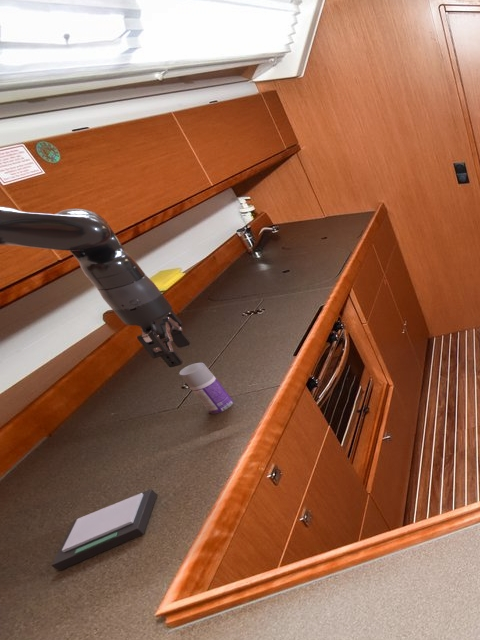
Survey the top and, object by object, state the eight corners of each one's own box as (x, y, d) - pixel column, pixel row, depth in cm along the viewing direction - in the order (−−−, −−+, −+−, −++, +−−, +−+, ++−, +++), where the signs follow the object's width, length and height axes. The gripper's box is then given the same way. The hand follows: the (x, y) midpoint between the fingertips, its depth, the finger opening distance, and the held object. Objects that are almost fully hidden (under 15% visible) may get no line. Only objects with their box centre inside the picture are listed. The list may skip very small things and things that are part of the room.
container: (236, 401, 109) (204, 359, 101) (237, 411, 106) (205, 368, 98) (212, 411, 106) (178, 368, 99) (213, 421, 103) (178, 378, 96)
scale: (59, 571, 74) (48, 564, 73) (81, 526, 81) (71, 518, 80) (144, 534, 79) (135, 526, 78) (158, 494, 86) (149, 487, 85)
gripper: (121, 290, 91) (166, 345, 100) (98, 320, 81) (150, 379, 89) (167, 280, 95) (207, 334, 103) (151, 307, 85) (196, 365, 93)
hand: (181, 355), depth 96 cm, fingers open, 8 cm apart
